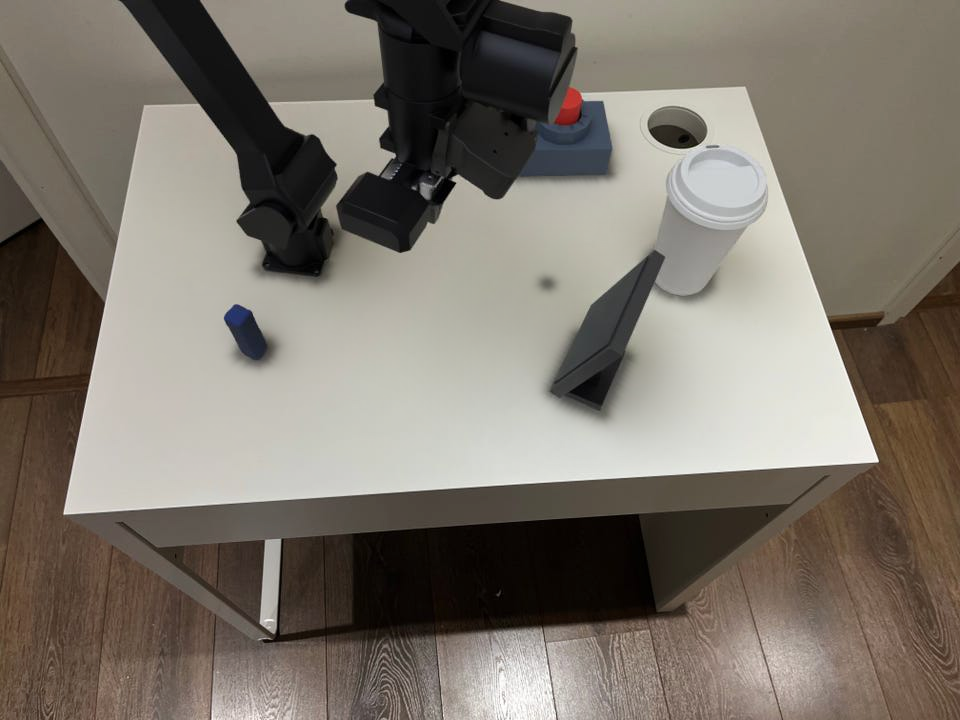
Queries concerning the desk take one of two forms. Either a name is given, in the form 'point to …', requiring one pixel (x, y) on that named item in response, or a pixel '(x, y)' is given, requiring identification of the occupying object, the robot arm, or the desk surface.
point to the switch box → (572, 145)
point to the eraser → (246, 331)
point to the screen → (608, 326)
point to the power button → (570, 108)
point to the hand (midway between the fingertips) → (431, 219)
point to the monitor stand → (596, 386)
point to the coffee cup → (707, 213)
